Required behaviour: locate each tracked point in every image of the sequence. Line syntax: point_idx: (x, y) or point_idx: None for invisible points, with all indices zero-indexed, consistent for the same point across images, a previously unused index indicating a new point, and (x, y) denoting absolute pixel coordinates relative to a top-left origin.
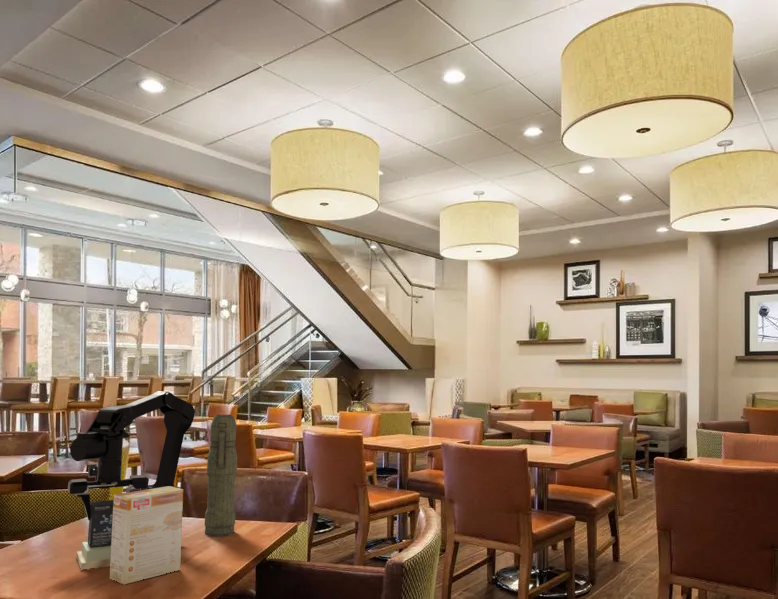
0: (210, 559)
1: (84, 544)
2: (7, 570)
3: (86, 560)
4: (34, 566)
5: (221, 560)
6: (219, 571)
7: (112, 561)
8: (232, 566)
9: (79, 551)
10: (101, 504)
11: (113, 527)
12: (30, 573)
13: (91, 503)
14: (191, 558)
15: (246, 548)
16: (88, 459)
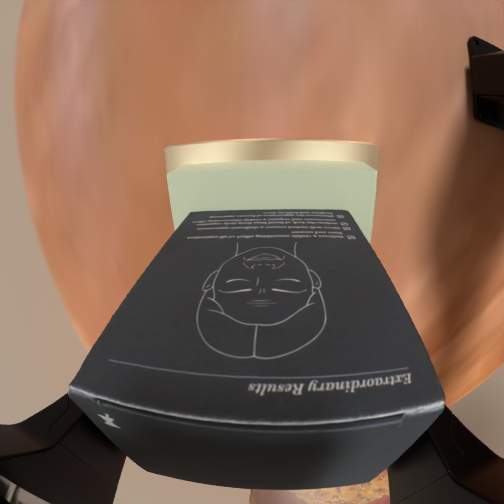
0: (490, 335)
1: (178, 225)
2: (33, 216)
3: None
4: (71, 204)
5: (493, 346)
6: (446, 396)
7: None
8: (476, 379)
9: (174, 150)
10: (197, 481)
11: (253, 495)
12: (80, 267)
13: (103, 425)
14: (476, 316)
15: None
16: None
